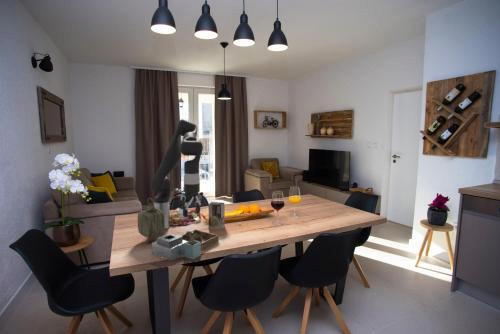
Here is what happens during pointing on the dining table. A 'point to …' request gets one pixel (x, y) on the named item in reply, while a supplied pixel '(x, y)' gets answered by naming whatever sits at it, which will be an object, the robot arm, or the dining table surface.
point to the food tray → (179, 219)
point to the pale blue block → (169, 246)
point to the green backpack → (151, 222)
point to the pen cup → (193, 250)
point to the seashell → (196, 237)
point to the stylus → (192, 238)
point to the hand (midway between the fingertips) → (191, 214)
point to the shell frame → (210, 238)
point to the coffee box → (216, 215)
